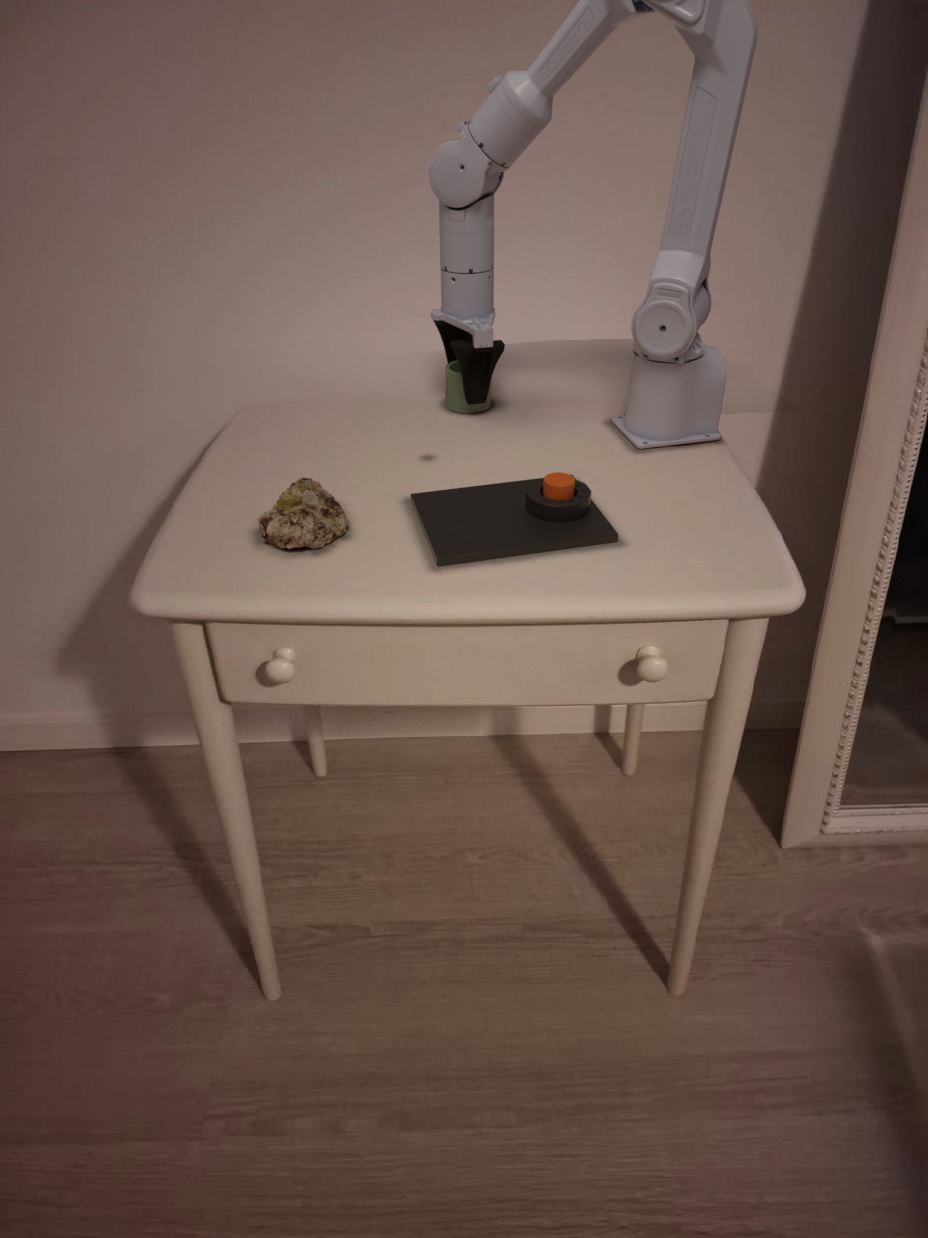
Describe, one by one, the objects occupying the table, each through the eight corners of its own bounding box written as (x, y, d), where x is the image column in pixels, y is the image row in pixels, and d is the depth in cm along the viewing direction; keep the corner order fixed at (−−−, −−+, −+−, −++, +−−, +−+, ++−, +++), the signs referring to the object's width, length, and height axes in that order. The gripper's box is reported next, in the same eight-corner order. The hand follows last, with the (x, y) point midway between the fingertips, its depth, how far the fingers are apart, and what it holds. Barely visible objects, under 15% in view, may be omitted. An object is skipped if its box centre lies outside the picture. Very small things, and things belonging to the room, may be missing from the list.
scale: (571, 482, 85) (573, 458, 83) (617, 542, 75) (620, 517, 74) (410, 502, 82) (409, 477, 80) (437, 567, 72) (436, 541, 71)
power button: (568, 485, 79) (569, 470, 78) (578, 499, 77) (579, 483, 76) (538, 489, 79) (539, 473, 78) (548, 503, 77) (549, 487, 76)
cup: (484, 394, 104) (484, 357, 101) (495, 410, 100) (496, 372, 97) (441, 398, 103) (440, 361, 100) (451, 415, 99) (450, 376, 96)
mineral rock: (347, 531, 73) (251, 509, 71) (338, 574, 75) (245, 554, 74) (359, 477, 82) (274, 457, 80) (350, 517, 84) (267, 498, 83)
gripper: (417, 253, 97) (421, 372, 105) (445, 287, 86) (447, 417, 94) (478, 249, 99) (478, 367, 106) (513, 282, 87) (510, 411, 95)
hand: (468, 390), depth 100 cm, fingers open, 7 cm apart
